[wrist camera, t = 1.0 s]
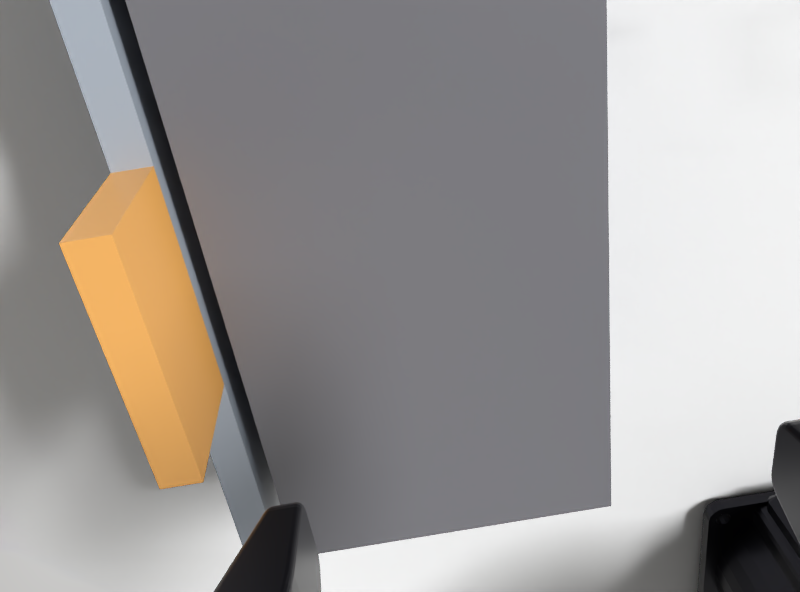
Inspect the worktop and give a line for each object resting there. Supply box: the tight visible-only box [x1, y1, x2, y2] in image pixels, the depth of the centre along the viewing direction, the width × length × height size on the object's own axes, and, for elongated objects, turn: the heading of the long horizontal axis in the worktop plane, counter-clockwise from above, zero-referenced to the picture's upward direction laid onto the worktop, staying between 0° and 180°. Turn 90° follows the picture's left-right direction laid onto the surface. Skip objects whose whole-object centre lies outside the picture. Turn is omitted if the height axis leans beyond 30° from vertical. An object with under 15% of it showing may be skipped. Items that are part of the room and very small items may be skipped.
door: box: [49, 0, 280, 545], centre depth 16 cm, size 16×1×8 cm, turn 8°
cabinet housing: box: [125, 0, 611, 554], centre depth 17 cm, size 17×8×5 cm, turn 8°
